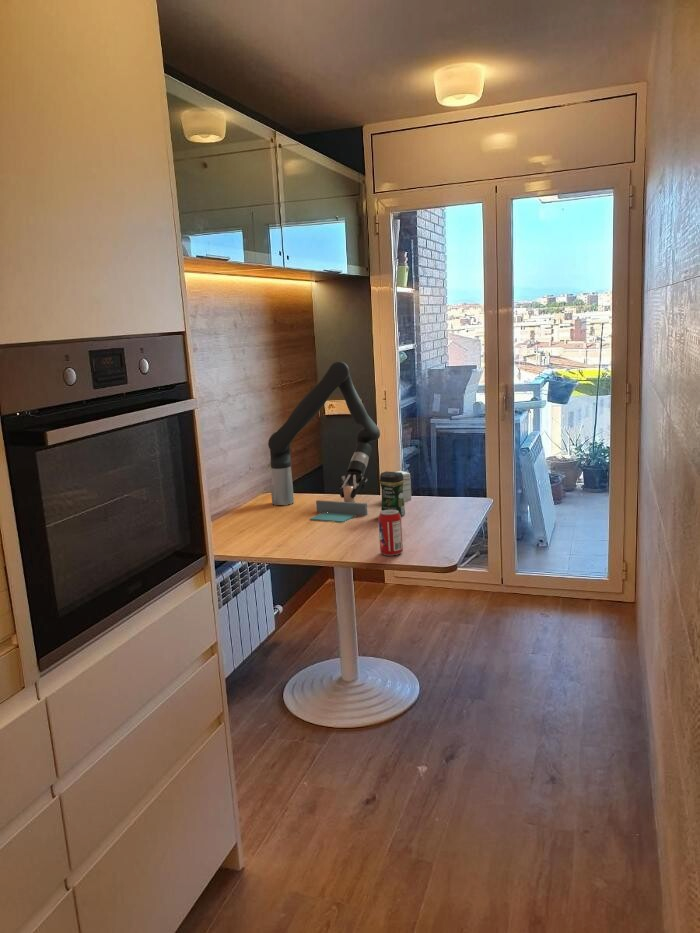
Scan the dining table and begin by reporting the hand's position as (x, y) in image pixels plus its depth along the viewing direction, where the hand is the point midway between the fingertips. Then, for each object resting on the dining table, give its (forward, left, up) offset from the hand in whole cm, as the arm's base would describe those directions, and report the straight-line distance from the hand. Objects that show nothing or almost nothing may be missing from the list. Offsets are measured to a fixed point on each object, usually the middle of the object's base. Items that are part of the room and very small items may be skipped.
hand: (346, 497), depth 317 cm
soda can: (+35, -57, -6) cm, 68 cm away
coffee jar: (+22, -7, -6) cm, 24 cm away
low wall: (-1, -6, -6) cm, 8 cm away
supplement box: (+18, +20, -6) cm, 28 cm away
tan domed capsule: (0, +2, -5) cm, 5 cm away
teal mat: (-2, -13, -6) cm, 14 cm away
